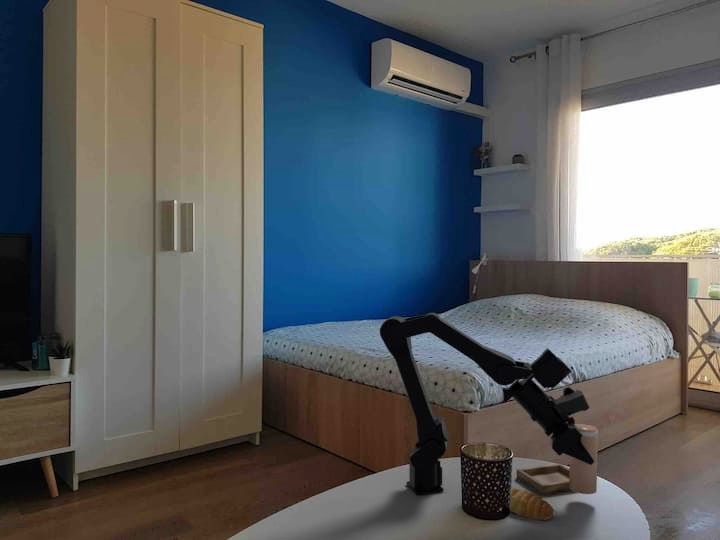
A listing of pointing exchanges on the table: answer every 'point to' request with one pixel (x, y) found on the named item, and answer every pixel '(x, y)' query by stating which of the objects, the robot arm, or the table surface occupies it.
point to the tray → (546, 478)
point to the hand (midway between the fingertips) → (590, 458)
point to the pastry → (529, 505)
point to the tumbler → (581, 472)
